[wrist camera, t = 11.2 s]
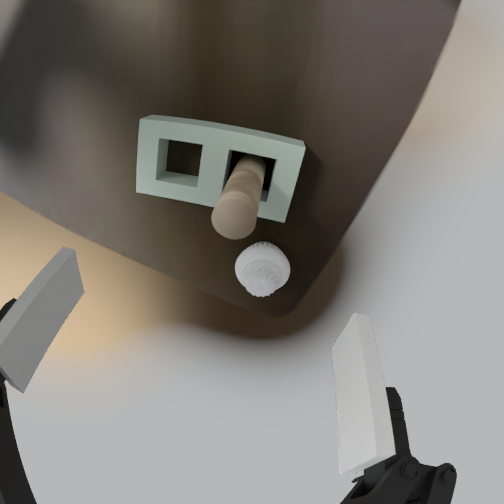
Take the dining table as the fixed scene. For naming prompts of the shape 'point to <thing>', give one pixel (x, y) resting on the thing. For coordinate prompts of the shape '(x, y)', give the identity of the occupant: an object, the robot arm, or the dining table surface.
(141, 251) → the dining table surface
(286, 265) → the muffin
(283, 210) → the hole block
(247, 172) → the peg
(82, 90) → the dining table surface
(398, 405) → the robot arm
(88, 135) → the dining table surface
